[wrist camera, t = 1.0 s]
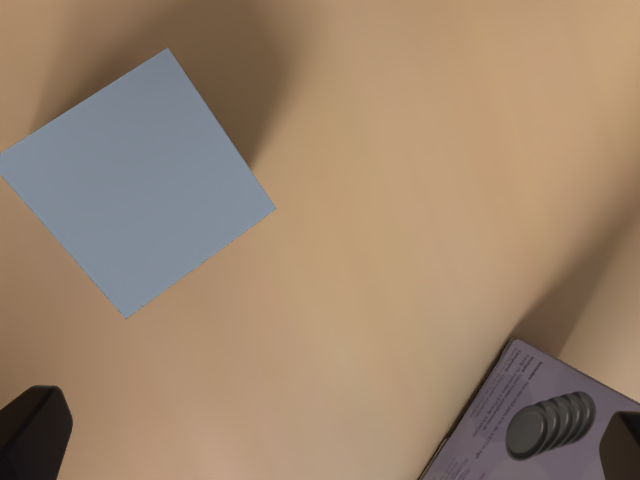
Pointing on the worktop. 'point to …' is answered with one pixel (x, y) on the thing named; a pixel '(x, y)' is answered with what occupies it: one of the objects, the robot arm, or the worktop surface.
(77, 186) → the slate-blue cube
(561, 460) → the cake pan box
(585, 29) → the worktop surface
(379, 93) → the worktop surface
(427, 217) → the worktop surface
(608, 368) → the worktop surface
